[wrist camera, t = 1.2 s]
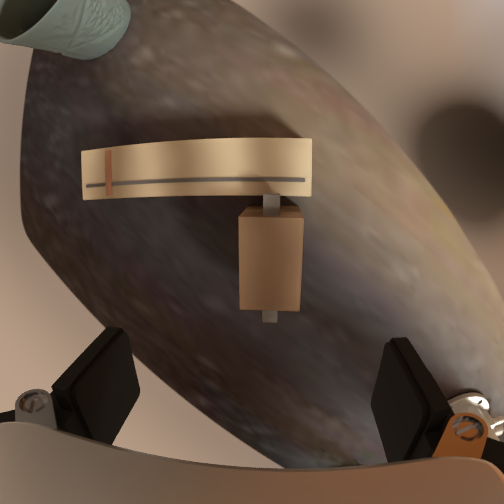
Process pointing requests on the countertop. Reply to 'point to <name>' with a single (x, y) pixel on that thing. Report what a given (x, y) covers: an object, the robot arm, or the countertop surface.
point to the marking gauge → (270, 257)
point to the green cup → (65, 25)
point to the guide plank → (199, 168)
